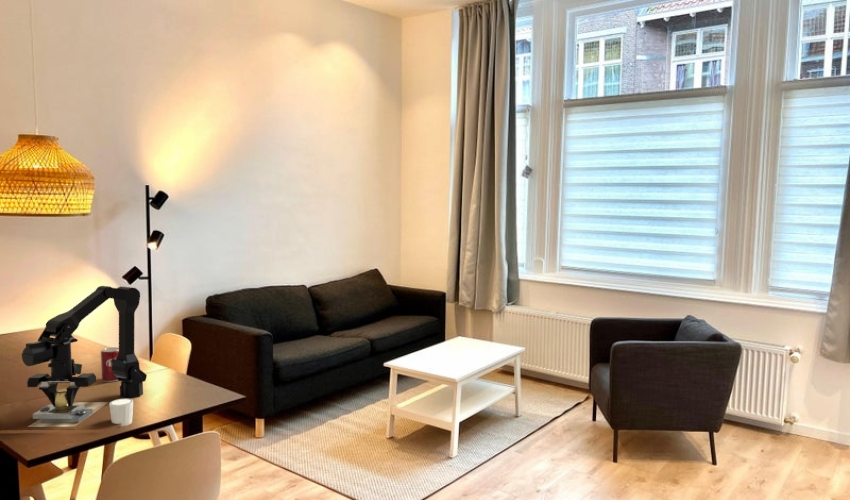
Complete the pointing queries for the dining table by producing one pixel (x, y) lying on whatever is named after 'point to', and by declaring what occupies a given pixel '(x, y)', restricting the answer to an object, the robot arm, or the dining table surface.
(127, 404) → the white short tapered cylinder
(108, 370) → the soda can
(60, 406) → the pin
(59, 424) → the board
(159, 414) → the dining table surface
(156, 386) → the dining table surface
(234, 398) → the dining table surface
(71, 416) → the square frame with knobs
